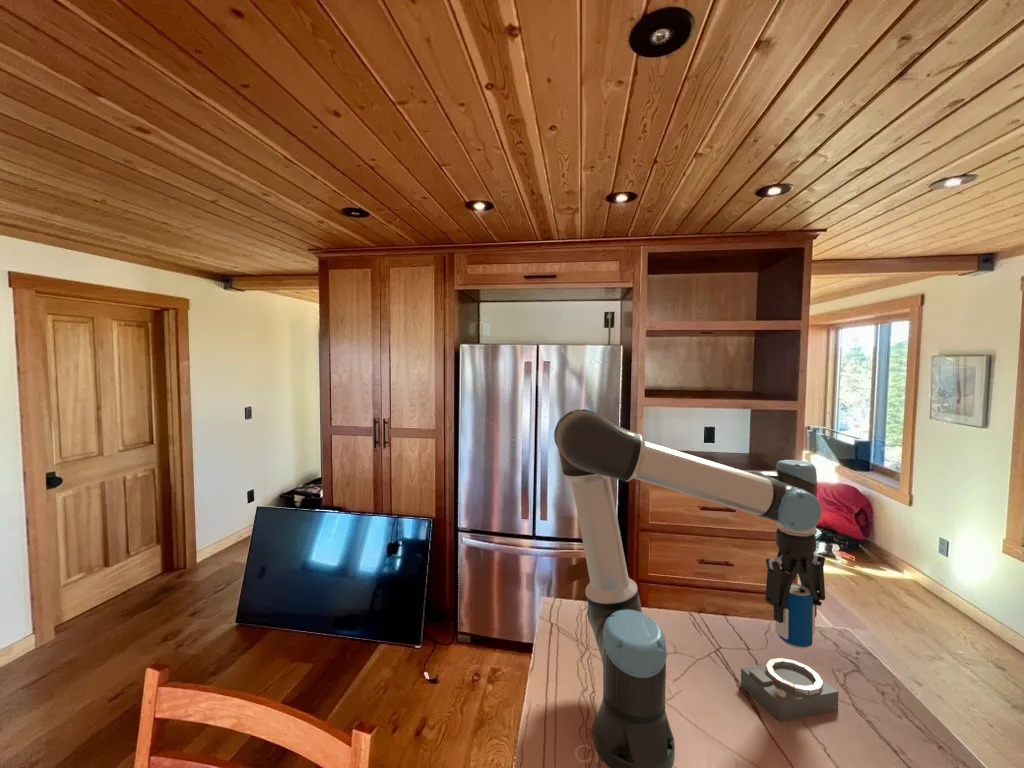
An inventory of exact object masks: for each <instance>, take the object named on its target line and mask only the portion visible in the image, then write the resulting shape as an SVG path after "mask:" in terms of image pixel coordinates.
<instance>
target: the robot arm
mask: <svg viewBox="0 0 1024 768" xmlns="http://www.w3.org/2000/svg"><path fill="white" fill-rule="evenodd" d="M554 428H555V429H554V433H553V436H554V437H553V438H554V443H555V445H556V448H557V449H558V454H559V455H558V456H559V459H560V465H561V470H562V471H561V472H562V475H563V476H564V477H565V478H567V479H568V480H570V481H571V486H572V487H571V488H572V492H573V498H574V502H575V503H574V504H575V508H576V513H577V517H578V518H577V519H578V524H579V530H580V535H581V540H582V545H583V549H584V550H583V551H584V555H585V560H586V561H585V562H586V566H587V572H588V577H589V583H588V584H587V586H586V588H585V590H584V592H585V597H586V603H587V606H586V607H587V612H586V613H587V618H588V621H589V625H590V627H591V629H592V632H593V635H594V638H595V641H596V645H597V647H598V651H599V655H600V657H601V660H602V670H603V671H602V677H603V678H602V690H603V691H602V701H601V703H600V706H599V709H598V712H597V715H596V717H595V720H594V722H593V723H594V724H593V743H594V747H595V750H596V752H597V753H598V755H599V757H600V758H601V759H602V761H603V762H604V763H605V764H606V765H608V766H609V767H610V768H672V766H673V765H674V762H675V758H676V757H675V754H676V753H675V751H676V750H675V749H676V746H675V745H676V744H675V738H674V734H673V732H672V728H671V725H670V722H669V719H668V715H667V713H666V680H667V679H666V678H667V676H666V675H667V674H666V673H667V656H668V651H667V644H666V636H665V634H664V631H663V628H662V627H661V625H660V624H659V623H658V622H657V621H656V620H655V619H654V618H652V617H650V616H647V614H645V613H644V612H643V609H642V605H641V604H642V603H641V599H640V594H639V588H638V584H637V582H635V581H634V580H633V579H631V578H630V577H629V574H628V567H627V562H626V557H625V551H624V547H623V546H624V545H623V541H622V536H621V535H622V534H621V530H620V529H621V528H620V525H619V519H618V513H617V508H616V501H615V498H614V493H613V486H612V482H611V478H612V479H615V480H620V481H622V482H626V483H628V482H630V481H631V480H633V479H634V480H638V481H641V482H645V483H647V484H652V485H654V486H655V485H656V486H658V487H661V488H665V489H669V490H672V491H673V492H674V491H675V492H678V493H681V494H685V495H689V496H691V497H694V498H698V499H702V500H705V501H708V502H712V503H715V504H719V505H722V506H725V507H728V508H731V509H735V510H739V511H742V512H745V513H749V514H752V515H755V516H758V517H761V518H763V519H767V520H770V521H773V522H775V526H776V527H777V529H776V530H775V536H776V537H775V544H776V546H777V548H778V552H777V555H776V557H774V558H770V557H767V558H766V559H765V563H766V567H767V573H766V582H765V583H766V587H765V596H764V597H765V598H764V601H765V602H766V603H767V604H769V605H771V606H772V607H773V619H774V620H775V633H776V634H777V635H778V634H779V635H780V636H782V637H783V638H785V639H788V612H789V609H787V608H786V607H785V606H786V602H787V599H788V595H789V592H790V588H791V585H792V583H793V581H794V580H796V578H797V575H798V578H799V581H800V585H802V586H804V587H806V588H808V589H809V590H810V592H811V593H810V594H811V595H812V597H813V635H816V617H817V612H818V611H817V610H818V608H817V607H821V606H822V604H823V602H822V601H825V600H826V589H825V573H824V572H825V571H824V566H825V562H826V558H825V556H822V555H820V554H817V553H816V551H817V535H816V534H815V533H816V532H817V525H819V523H820V521H821V519H822V515H823V508H822V504H821V502H820V500H819V499H818V498H817V497H818V496H817V493H818V492H817V491H818V477H817V468H816V466H815V465H814V464H813V463H810V462H808V461H803V460H796V459H795V460H794V459H783V460H778V461H777V462H776V466H775V469H773V470H742V469H739V468H736V467H735V468H734V467H733V466H728V465H725V464H721V463H719V462H715V461H712V460H709V459H705V458H702V457H699V456H695V455H692V454H689V453H687V452H682V451H680V450H675V449H672V448H669V447H666V446H663V445H660V444H656V443H653V442H650V441H646V440H644V438H643V436H642V435H641V434H640V433H638V432H635V431H633V430H632V431H631V430H628V429H626V428H624V427H622V426H620V425H617V424H615V423H613V422H612V421H610V420H608V419H606V418H605V417H603V416H601V415H598V414H597V413H596V412H595V411H593V410H589V409H585V408H582V409H573V410H570V411H568V412H566V413H565V414H564V415H562V416H561V417H560V419H559V420H558V421H557V423H556V425H555V427H554ZM779 600H780V601H779ZM779 635H778V636H779Z"/></svg>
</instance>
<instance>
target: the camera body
mask: <svg viewBox="0 0 1024 768" xmlns="http://www.w3.org/2000/svg"><path fill="white" fill-rule="evenodd" d="M792 660H793V661H797V662H799V661H798V660H797V659H792ZM766 664H767V663H765V664H759V665H754V666H747V667H743V668H740V686H741V687H742V688H743V689H744V690H745V691H746V692H747V693H748V694H750V695H751V696H752V697H753V698H754V699H755V700H756V701H757V702H758V703H759V704H760V705H761V706H762V707H763V708H764V709H766V710H767V711H768V712H769V713H770V714H771V715H772V716H773V717H774V718H775V719H776V720H777V721H778V722H780V723H781V722H787V721H791V720H795V719H801V718H805V717H810V716H815V715H819V714H825V713H830V712H833V711H838V710H839V691H838V690H837V689H835V688H834V687H833V686H832V685H830V684H829V683H828V682H826V681H825V680H823V679H822V678H821V680H822V681H823V688H822V690H821V692H820V694H817V695H812V696H809V695H808V696H806V695H801V694H796V693H792V692H790V691H788V690H786V689H784V688H782V687H780V686H778V685H777V684H776V683H775V682H774V681H772V680H771V679H770V678H769V677H768V674H767V672H766ZM774 672H775V673H776V674H777V675H778V676H779V677H781V678H782V679H783V680H786V681H788V682H790V683H792V684H796V685H801V686H809V685H814V681H813V679H812V678H810V677H809V676H808V675H806V674H805V673H804V672H801V671H799V670H796V669H794V668H790V667H784V666H782V667H776V668H774Z"/></svg>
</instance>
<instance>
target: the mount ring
mask: <svg viewBox="0 0 1024 768" xmlns="http://www.w3.org/2000/svg"><path fill="white" fill-rule="evenodd" d="M793 660H794V659H790V658H789V659H788V658H782V657H778V658H770V659H769V660H768V661H767V663H765V664H766V672H767V674H768V677H769V678H770V679H771V680H772V681H774V682H775V683H776V684H777V685H778V686H780V687H782V688H784V689H786V690H788V691H790V692H792V693H796V694H801V695H806V696H808V695H809V696H812V695H817V694H820V692H821V690H822V688H823V681H822V680H823V679H822V678H821V676H820V674H818V672H816V671H815V670H814V669H812V668H811V667H810V666H808V665H806V664H804V663H801V662H799V661H798V660H796V661H793ZM797 661H798V662H797ZM782 666H784V667H790V668H794V669H796V670H799V671H801V672H804V673H805V674H806V675H808V676H809V677H810V678H812V679H813V681H814V685H809V686H801V685H796V684H792V683H790V682H788V681H786V680H783V679H782V678H781V677H779V676H778V675H777V674H776V673H775V672H774V668H776V667H782ZM821 679H822V680H821Z"/></svg>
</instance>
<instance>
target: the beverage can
mask: <svg viewBox="0 0 1024 768" xmlns="http://www.w3.org/2000/svg"><path fill="white" fill-rule="evenodd" d="M810 593H811V592H810V590H809V589H808V588H806V587H804V586H802V585H801V584H799V583H794V582H792V585H791V588H790V592H789V595H788V599H787V602H786V606H785V607H786V608H787V609H789V612H788V639H785V638H783V637H782V636H780V635H779V634H777V635H778V637H779V638H780V640H782V642H784V643H785V644H787V645H788V646H791V647H793V648H797V649H806V648H808V647H811V646H812V645H813V640H814V639H813V597H812V595H811V594H810ZM779 601H780V600H779Z"/></svg>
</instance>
